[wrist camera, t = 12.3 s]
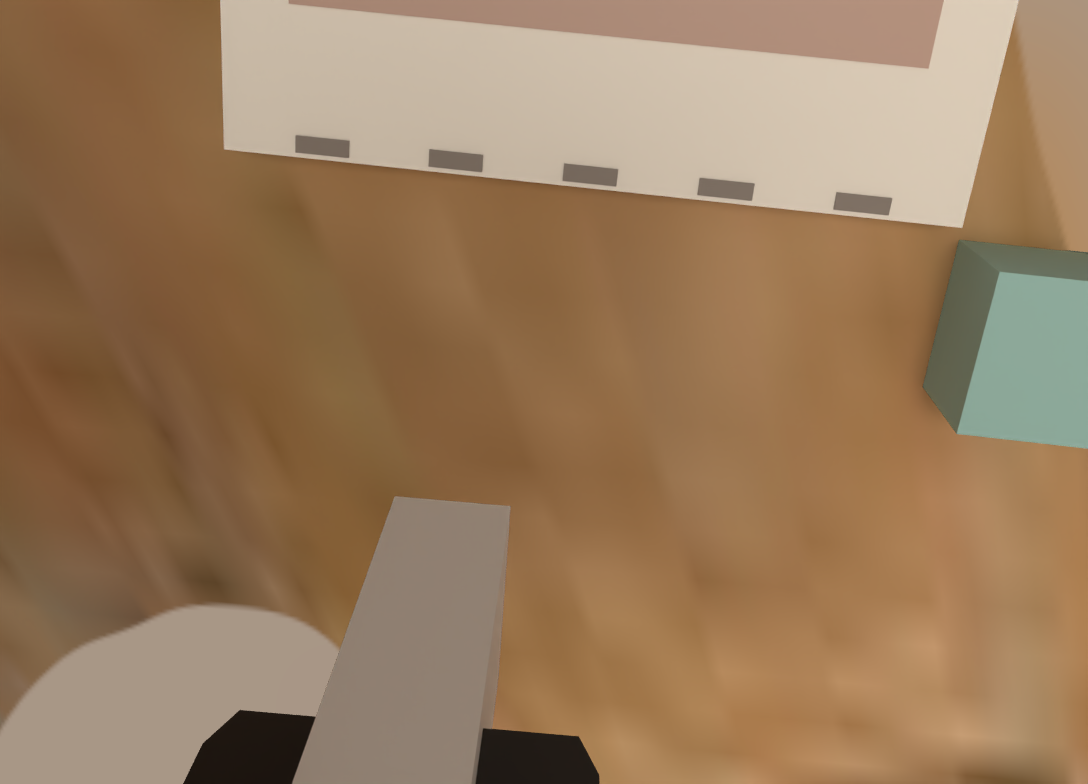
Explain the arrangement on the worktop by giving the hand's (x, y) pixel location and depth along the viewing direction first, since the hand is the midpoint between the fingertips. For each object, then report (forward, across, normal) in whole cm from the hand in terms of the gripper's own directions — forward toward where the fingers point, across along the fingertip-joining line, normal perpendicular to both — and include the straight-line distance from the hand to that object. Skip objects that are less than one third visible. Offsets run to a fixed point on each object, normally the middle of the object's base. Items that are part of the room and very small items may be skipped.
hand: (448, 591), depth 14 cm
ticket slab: (+21, +2, +6) cm, 22 cm away
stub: (+21, +16, -2) cm, 27 cm away
